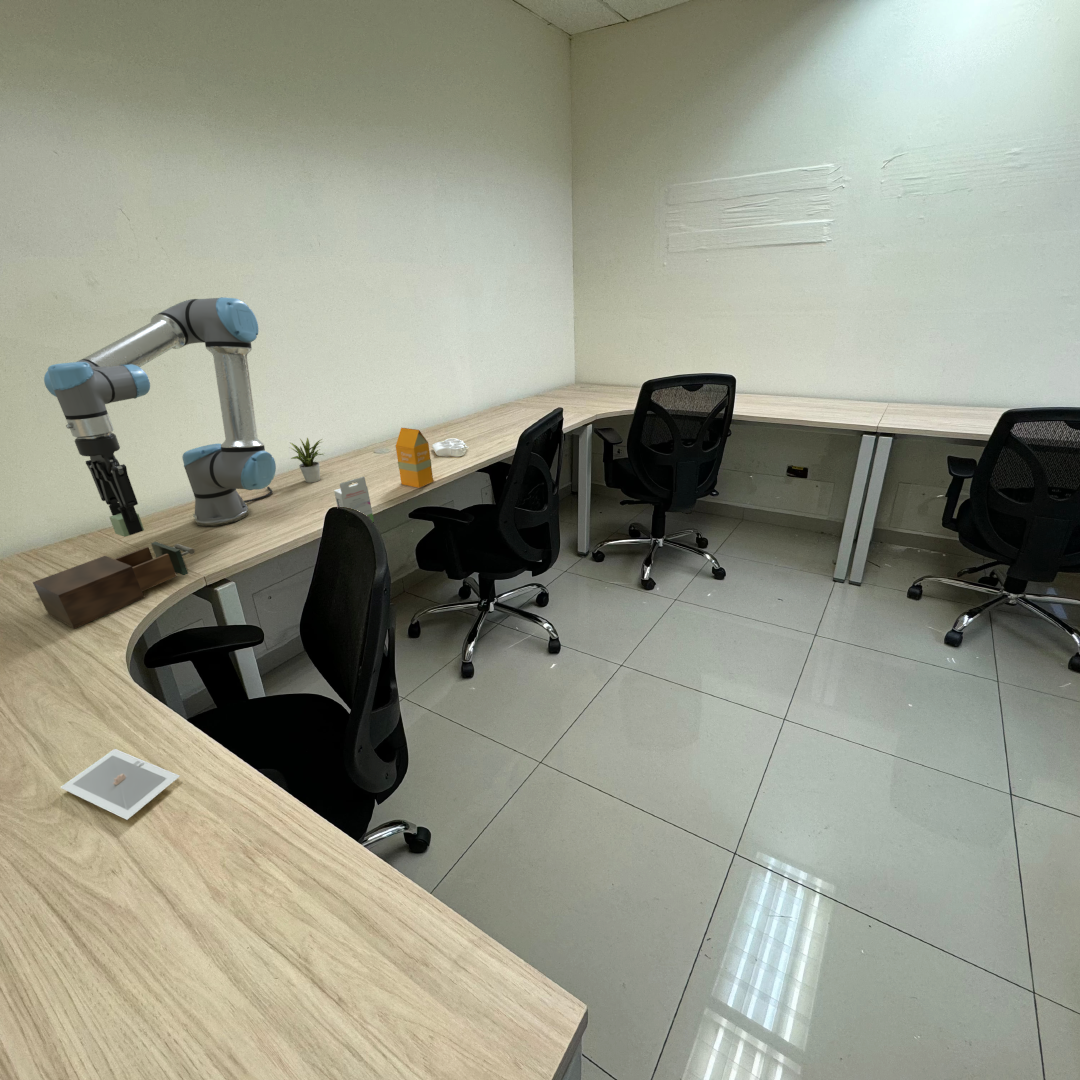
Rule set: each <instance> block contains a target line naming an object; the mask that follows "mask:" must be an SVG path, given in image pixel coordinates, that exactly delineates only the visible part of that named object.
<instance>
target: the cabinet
mask: <svg viewBox="0 0 1080 1080" xmlns="http://www.w3.org/2000/svg"><path fill="white" fill-rule="evenodd" d="M32 584H33V587H34V588H35V590H36V593H37V595H38V596H39V599H40V600H41V602H42V605H43V606H44V609H45V610H46V612H47V615H48V616H50V617H52V618H54V619H56V620H57V621H59V622H61V623H63V624H64V625H66V626H67V627H71V628H72V629H74V630H75V629H77V628H79V627H82V626H84V625H86V624H88V623H91V622H93V621H95V620H97V619H100V618H102V617H104V616H107V615H109V614H112V613H114V612H115V611H118V610H120V609H123V608H124V607H126V606H129V605H131V604H134V603H136V602H138V601H141V600H142V599H145V596H144V593H143V591H142V590H141V588H140V585H139V583H138V580H137V578H136V575H135V573H134V570H133V568H132V566H130V565H128V564H125V563H122V562H120V561H117V560H115V558H112V557H110V556H107V555H103V556H100V557H97V558H95V559H92V560H89V561H86V562H83V563H81V564H78V565H76V566H73V567H70V568H67V569H64V570H62V571H59V572H57V573H54V574H52V575H48V576H46V577H43V578H41V579H37V580H35V581H33V582H32Z"/></svg>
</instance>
